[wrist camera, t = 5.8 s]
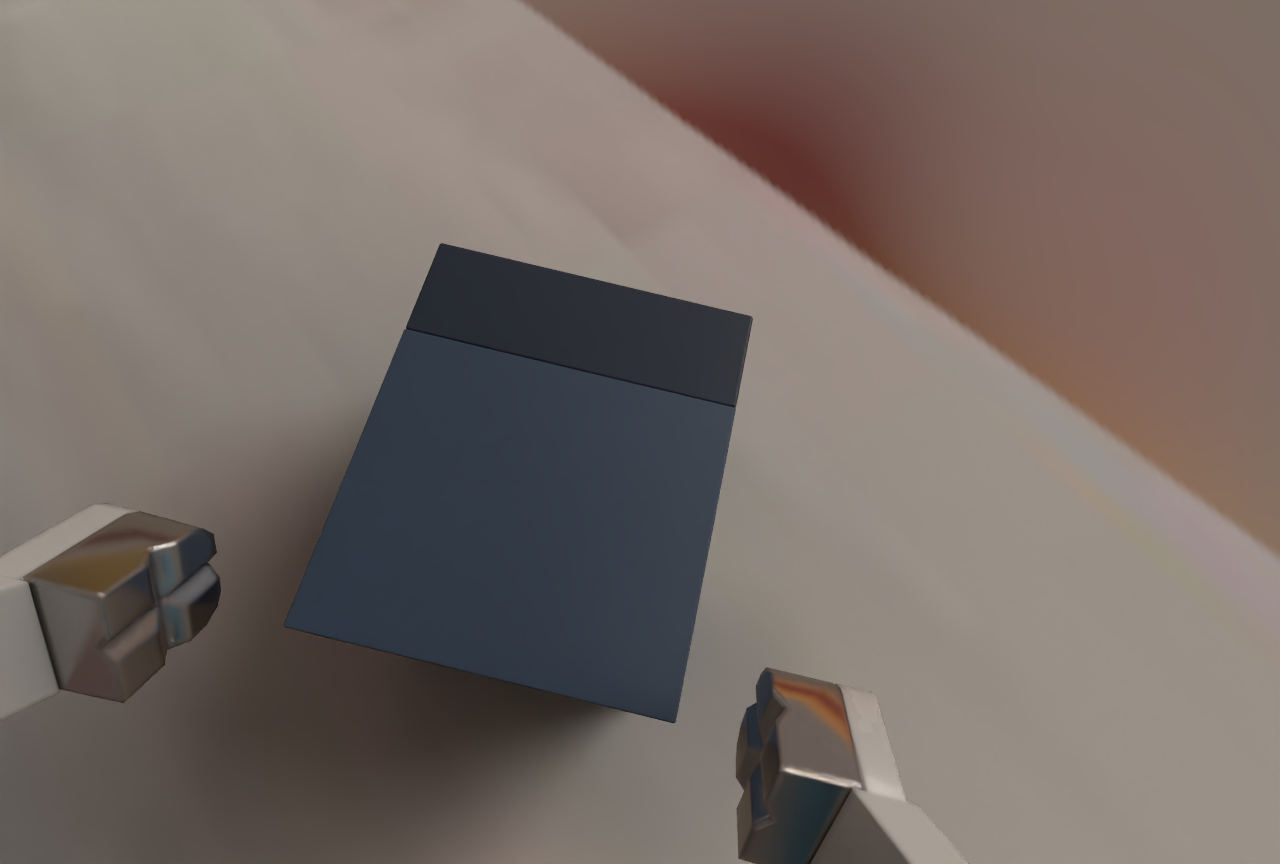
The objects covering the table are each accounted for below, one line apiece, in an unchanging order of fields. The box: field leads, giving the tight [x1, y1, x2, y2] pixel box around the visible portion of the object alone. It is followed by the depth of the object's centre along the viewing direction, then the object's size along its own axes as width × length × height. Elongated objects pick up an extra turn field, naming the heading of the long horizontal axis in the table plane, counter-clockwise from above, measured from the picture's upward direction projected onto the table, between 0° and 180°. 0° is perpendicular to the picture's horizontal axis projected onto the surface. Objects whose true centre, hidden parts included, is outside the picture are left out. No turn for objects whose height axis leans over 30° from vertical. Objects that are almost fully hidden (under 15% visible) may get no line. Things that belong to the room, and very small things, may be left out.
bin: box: [284, 243, 753, 723], centre depth 14 cm, size 8×6×6 cm
